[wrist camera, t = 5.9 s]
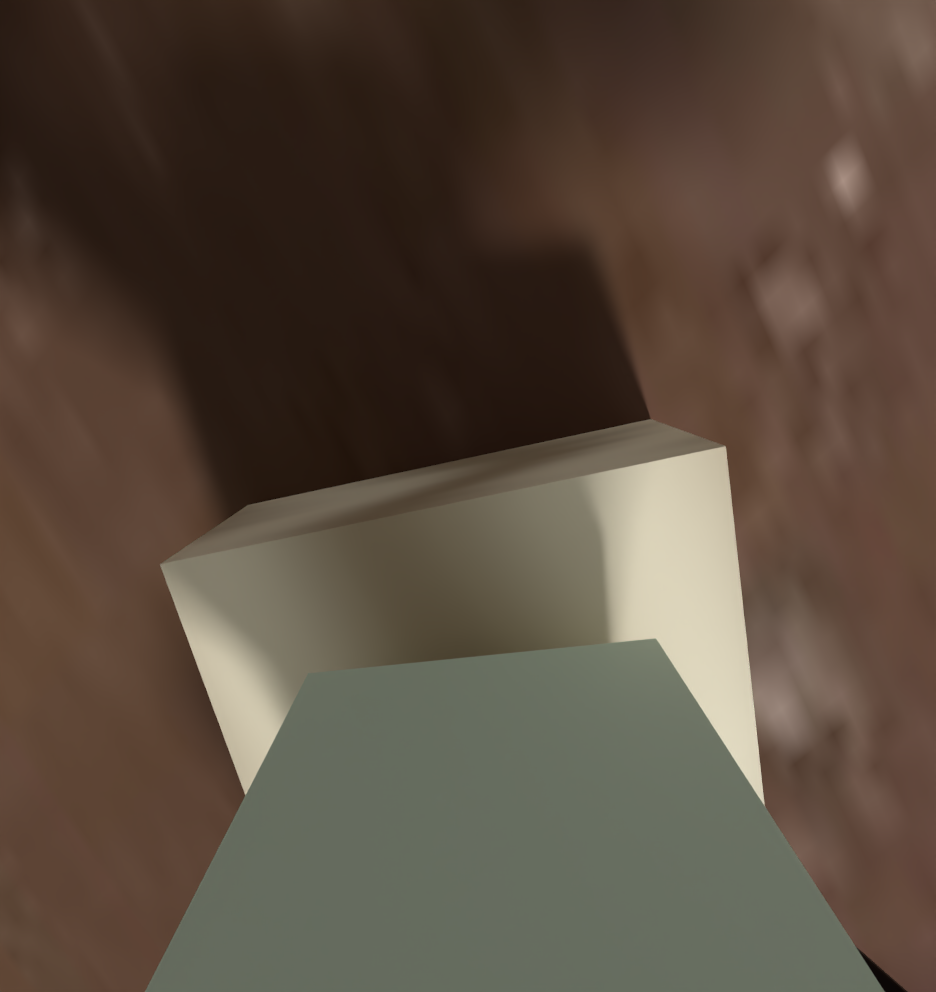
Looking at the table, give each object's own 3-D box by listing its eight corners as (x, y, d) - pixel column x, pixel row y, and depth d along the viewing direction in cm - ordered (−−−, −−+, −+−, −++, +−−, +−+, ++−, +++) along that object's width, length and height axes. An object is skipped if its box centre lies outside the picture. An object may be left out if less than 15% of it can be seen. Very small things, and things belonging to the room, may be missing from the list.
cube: (656, 638, 8) (937, 1074, 3) (666, 915, 9) (882, 1541, 4) (308, 673, 8) (69, 1140, 3) (363, 941, 9) (246, 1570, 5)
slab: (646, 417, 12) (725, 446, 9) (694, 761, 15) (776, 910, 11) (253, 501, 13) (159, 564, 9) (355, 821, 15) (315, 983, 11)
